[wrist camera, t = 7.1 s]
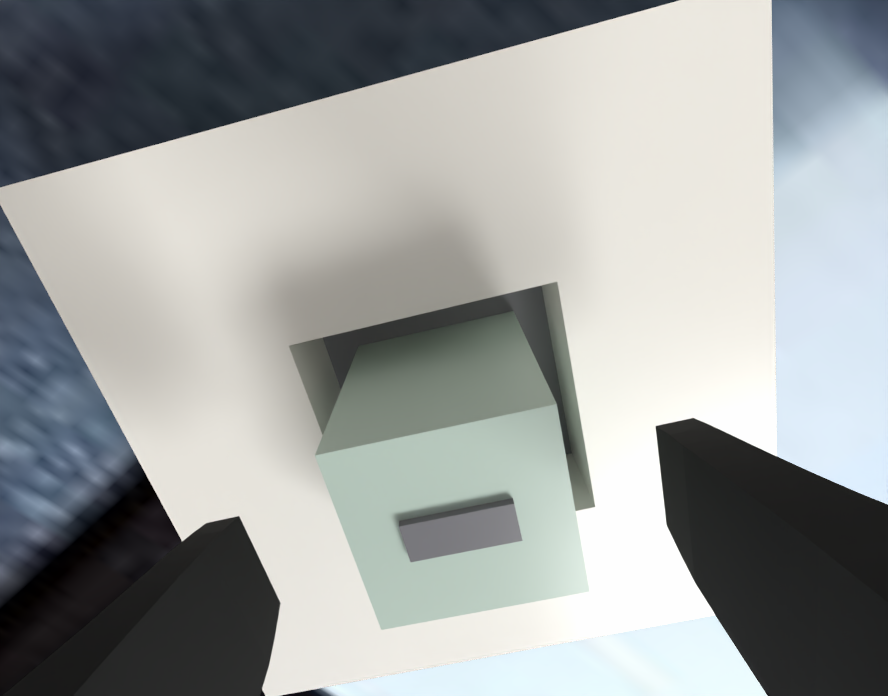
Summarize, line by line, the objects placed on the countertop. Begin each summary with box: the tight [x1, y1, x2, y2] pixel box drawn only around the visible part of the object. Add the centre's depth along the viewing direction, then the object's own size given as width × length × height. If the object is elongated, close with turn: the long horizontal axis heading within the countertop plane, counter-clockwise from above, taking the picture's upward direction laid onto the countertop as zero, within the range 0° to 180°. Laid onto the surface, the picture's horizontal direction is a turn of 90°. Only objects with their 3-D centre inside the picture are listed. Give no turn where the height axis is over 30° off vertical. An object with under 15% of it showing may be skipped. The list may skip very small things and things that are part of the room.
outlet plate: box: [0, 0, 777, 696], centre depth 13 cm, size 14×14×2 cm
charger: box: [315, 311, 590, 630], centre depth 11 cm, size 4×4×5 cm
